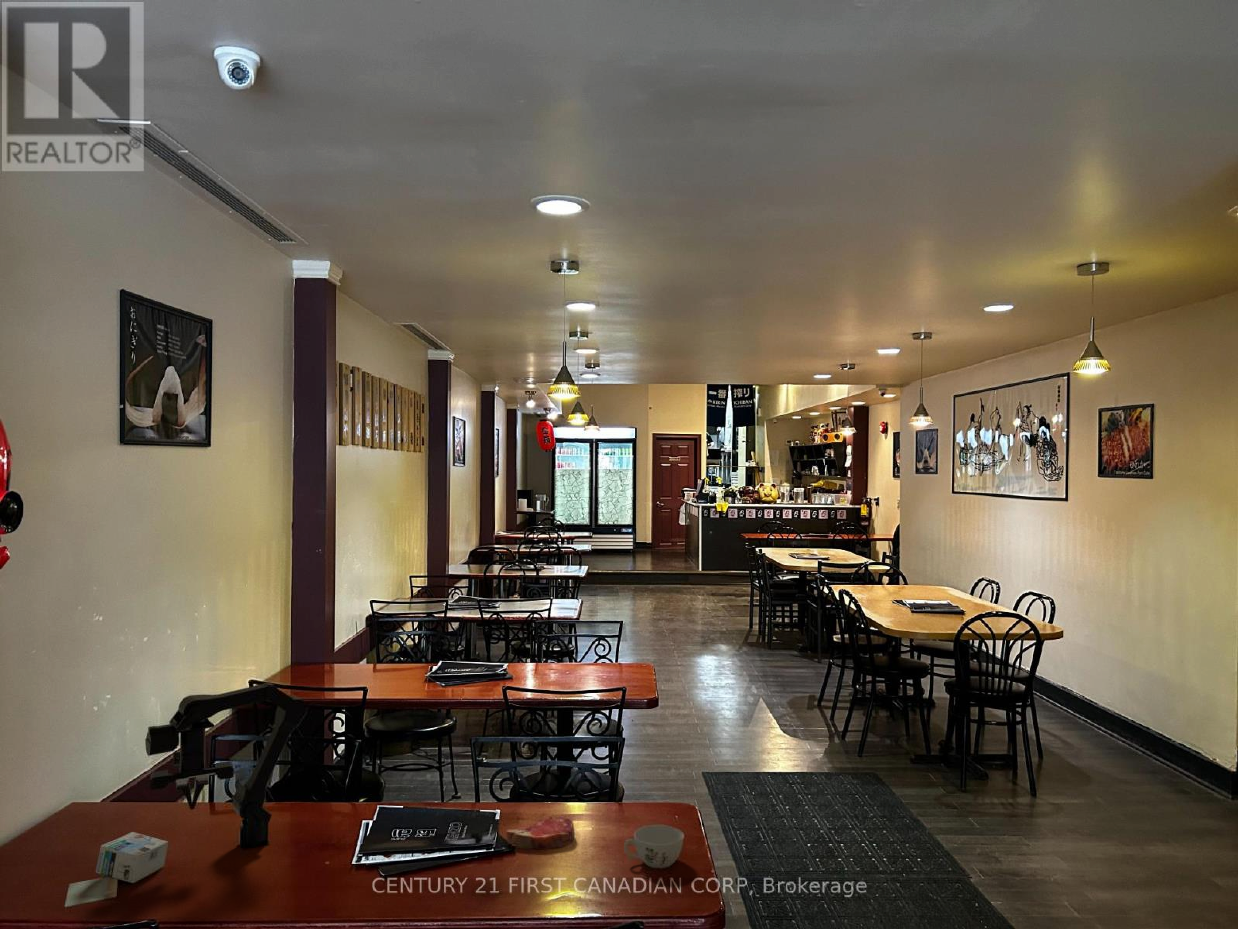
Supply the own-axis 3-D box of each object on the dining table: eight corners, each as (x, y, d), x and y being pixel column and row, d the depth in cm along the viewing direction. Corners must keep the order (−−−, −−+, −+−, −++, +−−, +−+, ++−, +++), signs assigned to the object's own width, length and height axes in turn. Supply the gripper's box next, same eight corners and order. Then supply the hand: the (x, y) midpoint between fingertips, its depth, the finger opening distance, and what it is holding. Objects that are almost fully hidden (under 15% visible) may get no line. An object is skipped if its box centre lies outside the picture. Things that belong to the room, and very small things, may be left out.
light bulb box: (138, 856, 201) (99, 845, 203) (132, 885, 201) (93, 873, 203) (169, 840, 212) (132, 830, 214) (164, 868, 211) (126, 857, 213)
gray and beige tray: (118, 876, 206) (118, 870, 206) (116, 898, 196) (116, 891, 196) (69, 885, 202) (69, 879, 202) (64, 908, 191) (64, 902, 191)
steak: (582, 826, 238) (582, 806, 238) (597, 859, 218) (597, 838, 218) (492, 835, 233) (492, 815, 233) (499, 870, 212) (499, 848, 212)
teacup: (679, 853, 220) (679, 822, 220) (687, 876, 208) (687, 843, 208) (621, 855, 219) (622, 824, 219) (626, 878, 207) (626, 845, 207)
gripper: (230, 733, 227) (230, 792, 227) (150, 743, 218) (150, 804, 218) (234, 745, 217) (233, 806, 217) (150, 756, 208) (149, 820, 208)
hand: (192, 809), depth 215 cm, fingers closed
